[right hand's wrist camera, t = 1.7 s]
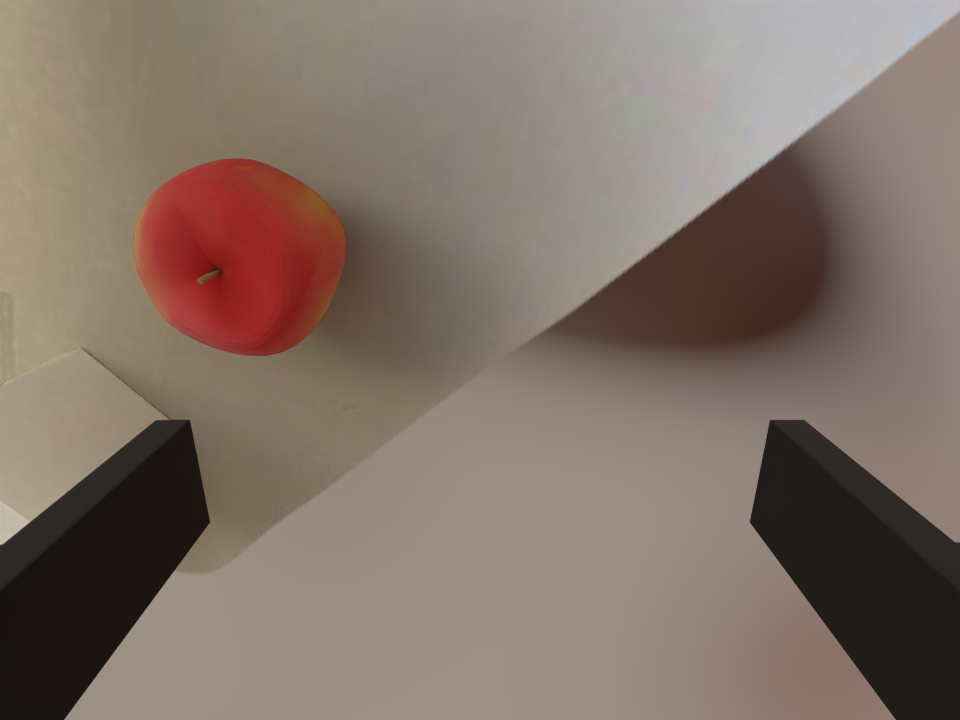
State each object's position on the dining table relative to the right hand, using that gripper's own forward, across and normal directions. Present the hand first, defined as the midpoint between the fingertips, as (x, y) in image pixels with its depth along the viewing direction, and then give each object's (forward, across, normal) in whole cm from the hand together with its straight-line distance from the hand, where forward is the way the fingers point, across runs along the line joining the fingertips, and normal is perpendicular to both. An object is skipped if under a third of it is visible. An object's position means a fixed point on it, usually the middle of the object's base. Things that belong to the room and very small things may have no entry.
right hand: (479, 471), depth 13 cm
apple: (+22, +12, -2) cm, 25 cm away
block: (+22, +25, +9) cm, 35 cm away
